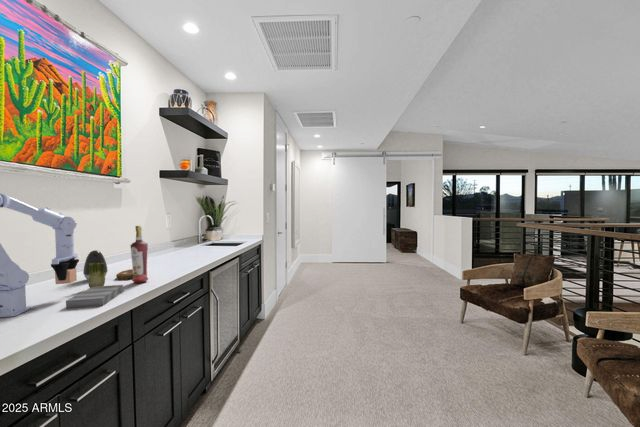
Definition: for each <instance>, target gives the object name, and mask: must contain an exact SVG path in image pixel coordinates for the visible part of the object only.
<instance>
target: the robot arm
mask: <svg viewBox="0 0 640 427" xmlns="http://www.w3.org/2000/svg"><path fill="white" fill-rule="evenodd" d="M0 208H4V209H5V208H6V209H9V210H12V211H15V212H19V213H21V214H25V215H27V216H30V217H31V218H32V220H33V221H34V222H37V223H40V224H42V225H45V226H48V227H50V228H52V229H53V230H54V234H55V235H54V236H55V240H54V241H55V257H54V258H53V259H51V264H50V267H51V268H52V269H53V271H54V273H55V272H56V275H57V277H58V280H59V281H61V280H66V275H67V269H77V268H76V267H77V265H78V263H79V262H80V259H79V258H78V253H75V247H74V246H75V244H74V243H75V242H74V240H75V239H74V230H75V228H76V227H77V222H76V220H74V218H72V217H71V216H64V214H63V213H61V212H55V211H53V210H52V209H51V208H50V207H43V206H41V207H39V208H37V207H34V206H32V205H30V204H28V203H25V202H23V201H21V200H18V199H16V198H15V197H12V196H9V195H7V194H5V193H0ZM29 278H30V276H29V273H28V272H27V271H25V270H24V269H21V267H20V266H19V264H18V263H15V261H13V260H12V259H11V257H10V256H9V254H8V253H7V252H6V250H5V248H4V247H3V245H2V244H1V243H0V318H8V317H16V316H17V315H18V316H19V315H21V314H22V313H24V312H26V311H28V310H31V309H33V306H31V305H30V306H27V299H26V298H27V295H26V284H27V283H28V281H29Z"/></svg>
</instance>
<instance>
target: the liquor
mask: <svg viewBox="0 0 640 427" xmlns="http://www.w3.org/2000/svg"><path fill="white" fill-rule="evenodd" d="M142 229H143V226H142V225H135V232H136V233H135V241H134V242H132V243H131V244H130V254H131V255H130V257H131V264H132V265H131V266H132V269H133V279H131V280H132V282H133V283H134V284H143V283H146V282H148V280H149V277H148V257H149V256H148V255H149V254H148V252H149V251H148V248H149V245H148V243H147V242H145V241H143V235H142V234H143V233H142V231H143V230H142Z"/></svg>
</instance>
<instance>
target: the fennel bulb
mask: <svg viewBox="0 0 640 427" xmlns="http://www.w3.org/2000/svg"><path fill="white" fill-rule="evenodd" d="M96 266H97V272H96ZM96 266H95V263H93V266H92V264H89V272H90V273H89V280H88V279H87V280H88V287H89V288H91V287H97V286H105V284H106V276H105V272H104V263H101V271H100V263H96Z"/></svg>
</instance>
